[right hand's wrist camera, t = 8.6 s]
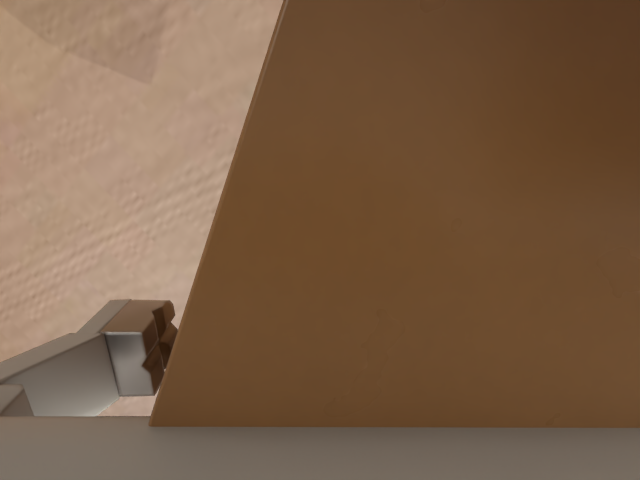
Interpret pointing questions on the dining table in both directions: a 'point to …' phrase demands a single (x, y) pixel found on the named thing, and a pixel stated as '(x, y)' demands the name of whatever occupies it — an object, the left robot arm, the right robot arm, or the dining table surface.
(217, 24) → the dining table surface
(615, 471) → the right robot arm
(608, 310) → the box
